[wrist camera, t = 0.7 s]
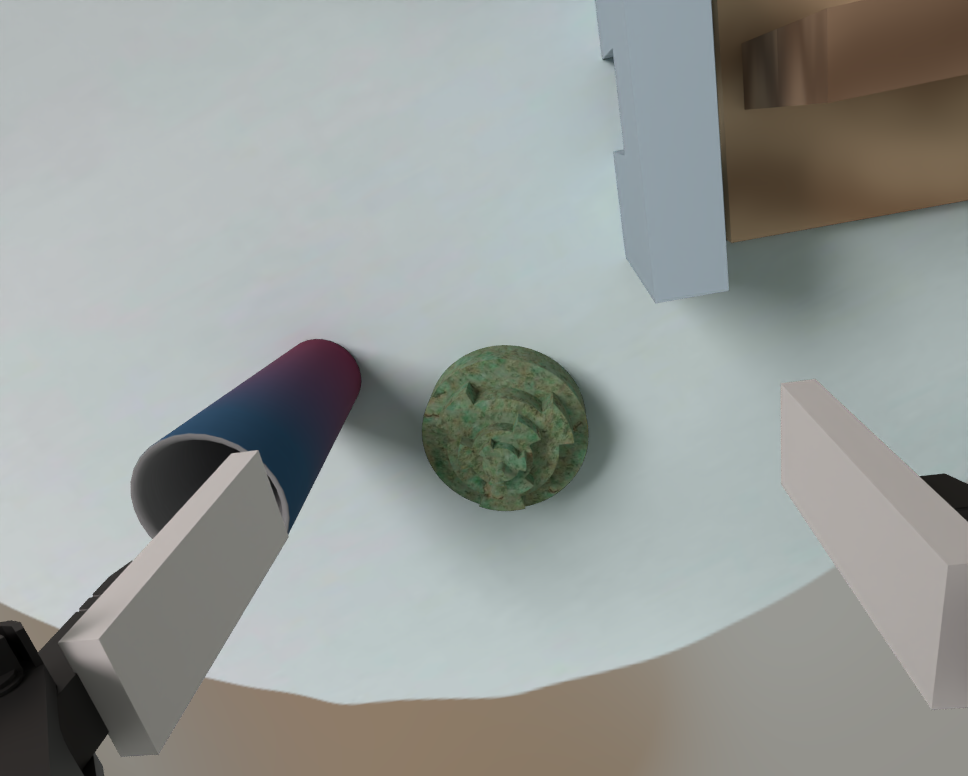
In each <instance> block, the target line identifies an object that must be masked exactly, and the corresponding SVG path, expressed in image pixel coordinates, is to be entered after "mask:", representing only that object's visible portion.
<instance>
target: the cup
mask: <svg viewBox="0 0 968 776" xmlns="http://www.w3.org/2000/svg"><path fill="white" fill-rule="evenodd" d="M360 387H361V374H360V370H359V367H358V365H357V363H356V361H355V359H354V358H353V357H352V355H351V354H350V353H349V352H348V351H347V350H345V349H344V348H343V347H341V346H340V345H338V344H336V343H334V342H331V341H327V340H323V339H313V340H307V341H305V342H302V343H300V344H298V345H297V346H295V347H294V348H292V349H291V350H289V351H288V352H287V353H285V354H284V355H282V356H281V357H279V358H278V359H276V360H275V361H274V362H272V363H271V364H269V365H268V366H266V367H265V368H263V369H262V370H261V371H259V372H258V373H256V374H255V375H253V376H252V377H250V378H249V379H247V380H246V381H245V382H243V383H242V384H240V385H239V386H237V387H236V388H234V389H233V390H232V391H230V392H229V393H227V394H226V395H224V396H223V397H221V398H220V399H218V400H217V401H216V402H214V403H213V404H211V405H210V406H208V407H207V408H205V409H204V410H203V411H201V412H200V413H198V414H197V415H195V416H194V417H192V418H191V419H189V420H188V421H187V422H185V423H184V424H182V425H181V426H179V427H178V428H176V429H175V430H174V431H172V432H171V433H169V434H168V435H166V436H165V437H163V438H162V439H160V440H159V441H158V442H156V443H155V444H153V445H152V446H150V447H149V448H148V449H147V450H146V451H145V452H144V453H143V454H142V456H141V457H140V458H139V460H138V462H137V464H136V466H135V467H134V470H133V474H132V478H131V498H132V503H133V507H134V510H135V512H136V515H137V517H138V519H139V521H140V523H141V525H142V526H143V527H144V529H145V530H146V532H147V533H148V535H149V536H150V537H151V538H152V539H153V538H154V537H155V536H156V535H157V534H158V533H159V532H160V531H161V530H162V529H163V528H164V526H165V525H166V524H167V523H168V522H169V521H170V520H171V519H172V518H173V517H174V516H175V514H176V513H177V512H178V511H179V510H180V509H181V508H182V507H183V506H184V505H185V504H186V502H187V501H188V500H189V499H190V498H191V497H192V496H193V495H194V494H195V493H196V492H197V490H198V489H199V488H200V487H201V486H202V485H203V484H204V483H205V482H206V481H207V480H208V479H209V477H210V476H211V475H212V474H213V473H214V472H215V471H216V470H217V469H218V468H219V467H220V465H221V464H222V463H223V462H224V461H225V460H226V459H227V458H228V457H229V456H230V455H231V454H232V453H240V452H248V451H255V450H259V453H260V456H261V459H262V462H263V465H264V468H265V470H266V473H267V476H268V479H269V482H270V485H271V488H272V490H273V493H274V496H275V499H276V502H277V505H278V508H279V511H280V513H281V516H282V519H283V522H284V525H285V528H286V531H287V533H288V534H289V532H290V530H291V528H292V526H293V524H294V522H295V520H296V518H297V516H298V514H299V512H300V510H301V508H302V506H303V504H304V502H305V500H306V498H307V496H308V494H309V492H310V490H311V488H312V486H313V484H314V482H315V480H316V478H317V476H318V474H319V472H320V470H321V468H322V466H323V464H324V462H325V460H326V458H327V456H328V454H329V452H330V450H331V448H332V446H333V444H334V442H335V440H336V438H337V436H338V434H339V432H340V430H341V428H342V426H343V424H344V422H345V420H346V418H347V416H348V414H349V412H350V410H351V408H352V406H353V404H354V402H355V400H356V398H357V396H358V394H359V391H360Z"/></svg>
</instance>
